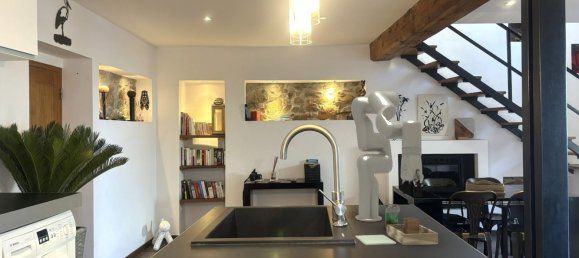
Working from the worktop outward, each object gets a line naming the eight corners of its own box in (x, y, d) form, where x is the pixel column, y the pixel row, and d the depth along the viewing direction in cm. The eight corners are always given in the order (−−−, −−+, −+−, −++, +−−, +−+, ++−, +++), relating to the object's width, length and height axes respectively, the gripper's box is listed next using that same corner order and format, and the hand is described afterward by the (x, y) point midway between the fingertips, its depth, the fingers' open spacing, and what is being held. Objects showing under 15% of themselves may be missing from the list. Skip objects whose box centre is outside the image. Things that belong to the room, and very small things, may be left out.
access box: (386, 234, 167) (386, 224, 167) (417, 233, 169) (417, 223, 169) (404, 245, 150) (404, 234, 150) (438, 244, 152) (438, 233, 153)
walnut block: (403, 237, 162) (403, 217, 162) (414, 237, 162) (414, 217, 162) (408, 240, 157) (408, 220, 157) (419, 240, 158) (419, 219, 158)
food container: (401, 232, 171) (401, 208, 171) (386, 231, 172) (386, 207, 172) (399, 225, 183) (399, 203, 183) (385, 225, 184) (385, 203, 184)
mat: (355, 237, 162) (355, 235, 162) (383, 236, 164) (383, 234, 164) (365, 245, 151) (365, 243, 151) (395, 243, 152) (395, 242, 152)
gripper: (393, 151, 168) (394, 192, 167) (412, 152, 151) (413, 198, 150) (410, 151, 169) (411, 192, 168) (431, 152, 152) (431, 198, 151)
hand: (412, 195), depth 159 cm, fingers open, 9 cm apart
